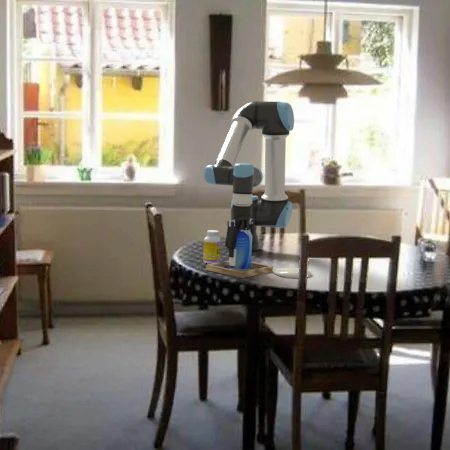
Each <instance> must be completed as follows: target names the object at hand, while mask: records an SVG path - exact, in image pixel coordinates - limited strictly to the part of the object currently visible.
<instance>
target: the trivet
mask: <svg viewBox="0 0 450 450" xmlns="http://www.w3.org/2000/svg"><path fill="white" fill-rule="evenodd" d="M299 269H300V268H297V267H281V268H275V269H273V274H274V276H278V277H281V278H288V279H299V278H298V272H299ZM310 277H312V272H311V271H310V270H308V277H307V278H310Z"/></svg>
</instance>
